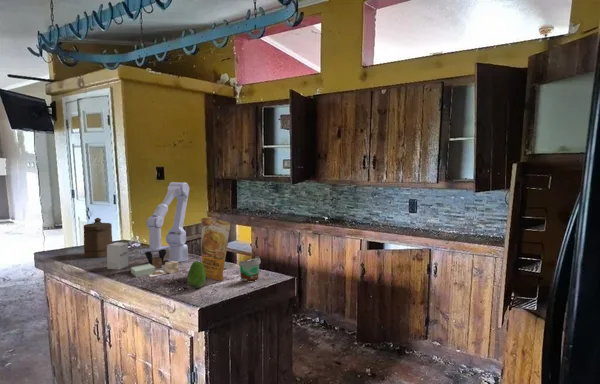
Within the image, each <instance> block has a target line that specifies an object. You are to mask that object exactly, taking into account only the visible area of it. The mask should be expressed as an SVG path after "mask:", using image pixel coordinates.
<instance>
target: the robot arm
mask: <svg viewBox="0 0 600 384" xmlns="http://www.w3.org/2000/svg"><path fill="white" fill-rule="evenodd" d="M189 194H190V186H189V184H188V182H175V181H172V182H171V181H170V183H169V184H168V186H167V192H166V195H165V197H164V199H163V201H162V203H159V204H158V205H157V206H156V208H155V210H154V212H153V213H152V215H151V216H149V217H148V218H147V219H146V222H145V225H146V226H147V230H148V235H149V237H148V238H149V240H148V241H149V247H146V248H141V249H140V250H139V251H140V252H139V253H140V254H142V255H145V257H146V259H147V262H148V264H149V263H150V264H151V265H152V258H153V252H154V253H155V252H158V257H160V258H161V259H162V263H164V257H165V256H166V254H167V251H169V258H168V259H166V261H167V262H170V261H175V262H178V263H180V262H187V261H189V249H188V245H187V244H186V242H187V231H186V230H185V229H184V222H185V216H186V212H187V206H188V205H187V204H188V199H189ZM174 199H176V200H177V201H176V205H175V206H176V207H175V212H174V213H175V214H174V218H173V224H172V227H171V228H170V229H168V231H167V234H166V237H165V241H166V243H167V245H162V226H163V225H164V220H165V217H166V215H167V214H168V212H169V206H170V204H171V203H172V201H173V200H174Z"/></svg>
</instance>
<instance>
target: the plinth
mask: <svg viewBox="0 0 600 384" xmlns="http://www.w3.org/2000/svg"><path fill="white" fill-rule="evenodd" d="M155 271H156V269H155V267H154V266H153V265H151V264H150V263H149V262H148V263H146V264H140V265H135V266H131V267H130V273H131V274H132V275H133V276H134V277H136V278H138V277H145V276H149V275H150V274H154V273H156V272H155Z"/></svg>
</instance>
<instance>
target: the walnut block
mask: <svg viewBox="0 0 600 384" xmlns="http://www.w3.org/2000/svg"><path fill="white" fill-rule="evenodd" d="M152 265H153V266H154V267H155V270H159V269H162V267H163V266H162V265H163V262H162V259H161V258H160V257H159V256H157V257H152Z"/></svg>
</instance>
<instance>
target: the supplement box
mask: <svg viewBox="0 0 600 384" xmlns="http://www.w3.org/2000/svg"><path fill="white" fill-rule="evenodd" d="M106 261H107V263H106V265H107V269H108V270H118V271H120V270H122V269H124V268H128V267H129V243H128V242H114V243H113V242H112V244H109V245H107V256H106Z"/></svg>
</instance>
